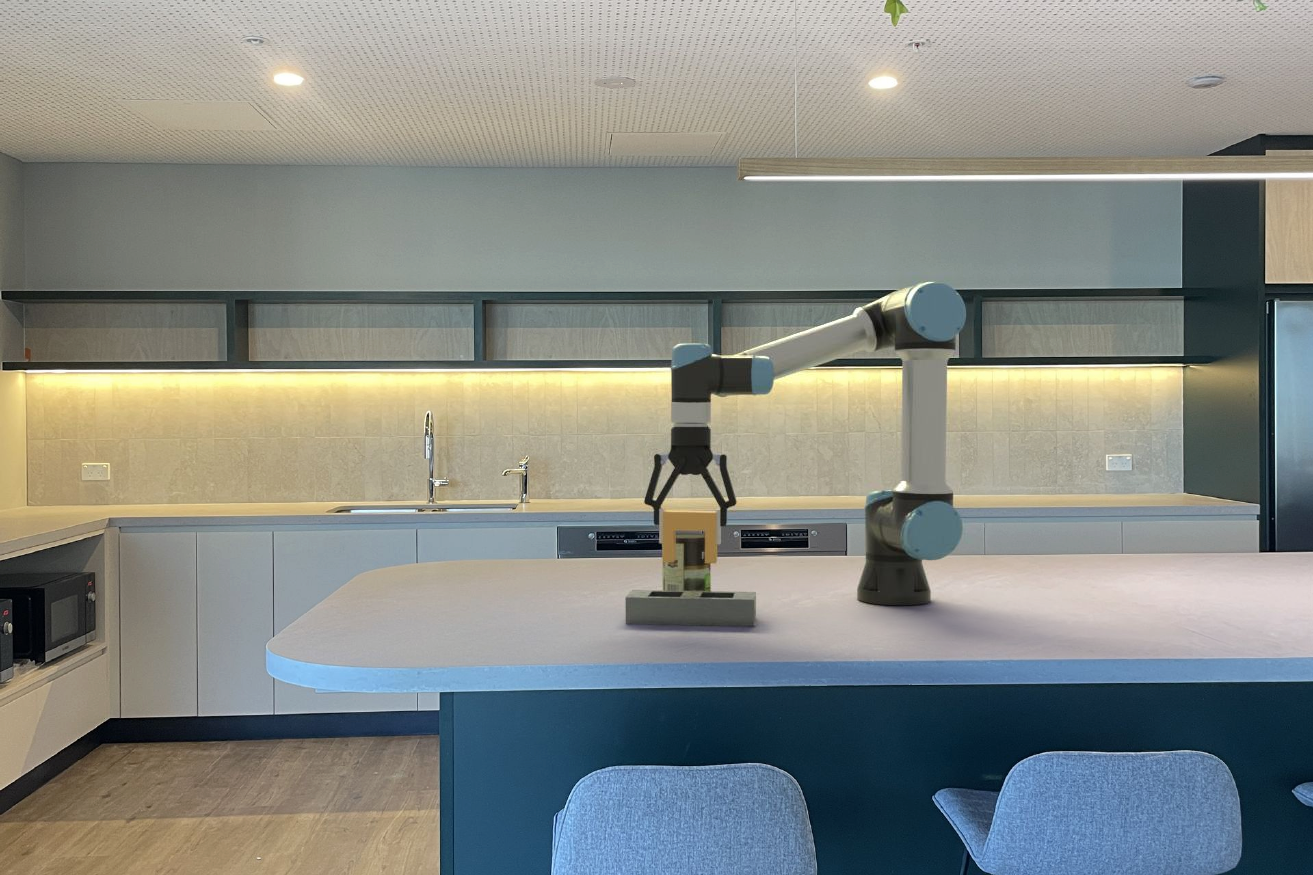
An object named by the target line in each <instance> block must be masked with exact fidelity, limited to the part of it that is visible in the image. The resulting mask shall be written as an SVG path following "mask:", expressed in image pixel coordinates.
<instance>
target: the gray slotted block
mask: <svg viewBox="0 0 1313 875" xmlns="http://www.w3.org/2000/svg"><path fill="white" fill-rule="evenodd" d="M624 599H625V602H624V603H625V624H626V625H657V626H660V625H663V626H670V625H671V626H702V627H703V626H707V627H708V626H710V627H747V628H748V627H749V628H750V627H751V628H752V627H753V628H755V625H756V619H757V592H756V591H719V590H718V591H717V590H715V591H714V590H713V591H712V590H711V591H667V590H663V589H662V590H660V589H659V590H657V589H656V590H655V589H654V590H653V589H632V590H631V591H630V592H628V594H627V595H626V596H625V598H624Z"/></svg>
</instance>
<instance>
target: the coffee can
mask: <svg viewBox="0 0 1313 875" xmlns="http://www.w3.org/2000/svg"><path fill="white" fill-rule="evenodd" d="M661 547H662V548H661V550H662V552H661V553H662V556H661V557H662V558H661V563H662V565H661V566H662V590H667V591H712V590H711V589H712V588H711V580H712V579H711V578H712V577H711V568H712V567H711V563H705V533H701V532H699V533H698V532H697V533H695V532H694V533H693V532H680V533H679V532H676V560H675V561H674V562H663V543H661Z"/></svg>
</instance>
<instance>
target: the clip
mask: <svg viewBox="0 0 1313 875" xmlns="http://www.w3.org/2000/svg"><path fill="white" fill-rule="evenodd" d="M679 531H680V532H704V534H705V563H710V564H716V563H717V562H718V544H716V510H693V509H692V510H688V509H687V510H680V509H678V510H677V509H665V511H663V562H674V561H675V560H676V533H677V532H679Z"/></svg>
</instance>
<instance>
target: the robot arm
mask: <svg viewBox="0 0 1313 875" xmlns="http://www.w3.org/2000/svg"><path fill="white" fill-rule="evenodd" d="M966 317H967V309H966V305H965V302H964V299H963V298H962V296H961V295H960V293H958V292H957V290H956V289H955V288H954V287H953V286H951V285H949V284H947V283H944V282H941V281H927V282H919V283H917V284H915V285H911V286H909V287H904V288H901V289H897V290H895V291H893V292H891V293H889V294H887V295H885V296H883V297H881V298H879V299H877V300H875V301H873V302H870V303H867V304H866V305H863V306H860V307H857V308H855V309H854V311H853V313H852V314H851V315H849V316H845V317H843V318H839V319H835V320H834V321H830V322H827V323H825V324H822V325H819V326H815V327H813V328H809V329H807V330H806V329H805V330H803V331H801V332H798V333H794V334H792V335H789V336H786V337H782V338H779V339H778V340H774V341H771V342H768V343H765V344H762V345H759V346H757V347H753V348H750V349H748V350H745V351H744V350H743V351H742V352H739V353H735V354H733V355H732V354H730V355H729V354H728V355H722V354H721V355H720V354H713V352H712V347H711V345H710V344H708V343H695V342H694V343H691V342H690V343H689V342H688V343H678V344H676V345H675V346H673V348H672V351H671V353H672V354H671V366H670V371H671V372H670V374H671V376H670V377H671V380H670V381H671V384H670V385H671V391H670V392H671V394H670V397H671V401H670V402H671V403H670V415H671V416H670V423H671V424H673V426H671V429H670V450H669V452H668V453H663V454H661V453H656V454H654V455H653V461H654V462H653V464H654V466H653V471H652V474H651V477H650V480H649V484H648V486H647V490H646V493H645V497H644V499H643V503H644V505H646V506H650V507H652V509H653V524H654V526H658V528H659V529H658V530H659V531H658V532H659V536H658V544H662V543H663V511H665V510H666V507H662V505H663V503H664V502H665V500H666V498H667V497H668V495H669V493H670V491H671V489H673V486H674V484H676V481H677V479H678V478H679V476H680V475H682V476H687V475H693V476H700V475H701V477H702V478H703V480H704V481H705V484H706V485H707V487H708V488H709V490H710V492H711V494H712V496H713V497H714V499H715V501H716V503H717V505H718V506H719V508H716V510H715V511H716V544H717V546H719V545H721V543H722V527H727V523H728V509H729V508H733V507H734V506H736V505H737V498H736V494H735V491H734V488H733V484H732V480H731V477H730V474H729V471H728V466H727V464H728V456H727V454H725V453H723V454H715V453H713V451H712V446H711V443H712V441H711V440H712V439H711V436H712V435H711V434H712V433H711V432H712V431H711V428H710V427H709V425H710V424H711V423H712V412H711V411H712V410H711V409H712V404H711V403H712V398H711V397H712V395H714V396H717V397H721V398H724V397H728V396H729V397H730V396H743V395H744V396H745V395H746V396H754V397H755V396H757V395H758V396H761V395H763V396H764V395H768V394H770V393H771V391H772V390H773V386H774V383H775V380H779V379H781V378H785V377H787V376H790V375H793V374H796V373H798V372H802V371H805V370H808V369H811V368H814V367H816V366H819V365H822V364H826V363H828V362H831V361H836V360H838V359H841V358H844V357H846V356H850V355H853V354H855V353H857V352H858V353H859V352H861V351H866V352H867V353H873V352H876V351H878V350H883V349H889V348H894V353H895V354H896V356H897V357H899V358H900V360H901V361H902V368H901V369H902V377H901V382H902V384H901V385H902V386H901V440H900V441H901V444H900V445H901V446H900V447H901V448H900V449H901V450H900V451H901V452H900V454H901V455H900V458H901V459H900V482H899V483H898V484H897V485H895V486H894V488H893V489H887V490H886V489H885V490H875V491H870V492H868V493H867V495H866V497H865V506H864V513H865V522H864V523H865V528H864V530H865V531H864V532H865V562H864V563H865V564H864V565H863V566H864V567H863V569H862V572H861V575H860V579H859V582H858V584H857V589H856V590H857V591H856V598H857V600H858V601H860V602H864V603H868V604H874V605H884V606H885V605H886V606H917V605H918V606H919V605H924V604H929V603H930V602H931V601H932V600H931V599H932V592H931V586H930V585H929V581H928V577H927V575H926V571H925V568H924V565H923V561H924V560H925V561H937V560H942V559H944V558H946V557H948V556H949V555H950V554H951V553H952V552H953V551H955V550H956V548H957V547H958V545H959V544H960V543H961V542H960V541H961V539H962V536H963V530H964V528H963V520H962V517H961V515H960V513H959V512H958V511H957V509H956V508H955V507H954V490H953V489H952V488H951V487H950V486H949V485H948V483H947V482H946V474H947V473H946V472H947V471H946V468H947V465H946V463H947V461H946V460H947V455H946V454H947V406H948V405H947V403H948V402H947V400H948V399H947V397H948V394H947V393H948V392H947V390H948V361H949V359H950V358H951V357H952V356H953V355H954V354H955V353H956V345H957V344H956V343H957V342H956V340H957V335H958V334H960V332H961V331H962V329H963V328H964V326H965V323H966V319H967V318H966ZM667 460H669V462H670V463H671V464H672V465H673V470H672V472H671V473H670V475H669V477H668V479H667V480H666V482H665V484H664V486H663V488H662V489H661V491H660V492H659V494H658V495H657V498H656V499H654V496H655V493H656V489H657V485H658V482H659V478H660V476H661V473H662V470H663V466H664V465H666V463H667ZM712 461H714V462H715V465H716V466H718V467H719V471H720V475H721V478H722V482H723V485H724V490H725V492H726V496H727V499H728V500H725V498H724V496H723V494H722V493H721V492H720V489H719V488H718V486H717V484H716V482H715V481H714V479H713V477H712V476H711V473H710V472H709V469H708V466H709V465H710V463H711V462H712Z"/></svg>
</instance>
